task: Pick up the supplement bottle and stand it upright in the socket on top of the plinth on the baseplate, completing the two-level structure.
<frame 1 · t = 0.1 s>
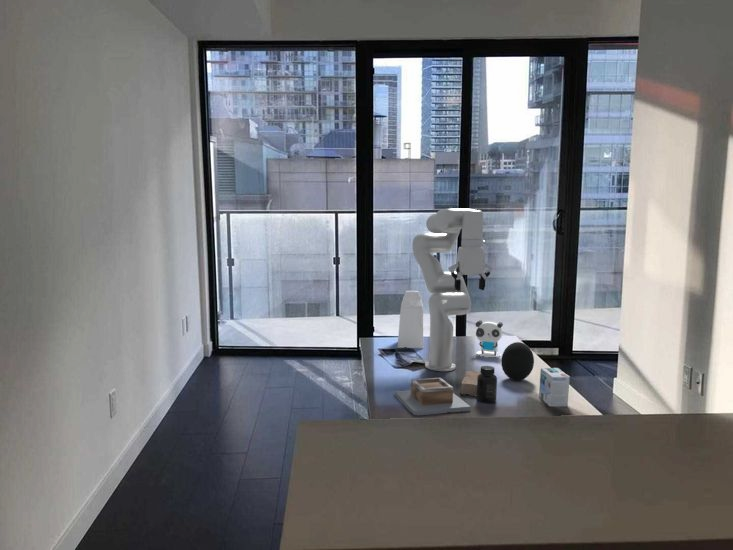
hand: (469, 289, 222), 37 cm above the table, tool pointing down, fingers open, 9 cm apart
baseplate: (431, 402, 207), on the table
supplement bottle: (486, 401, 211), on the table
brick: (474, 389, 224), on the table
light bulb box: (552, 402, 212), on the table
decorative egg: (516, 380, 236), on the table
plinth: (431, 391, 207), on the baseplate, point 4 cm above the table
milk: (410, 345, 287), on the table
panda figurine: (488, 354, 273), on the table
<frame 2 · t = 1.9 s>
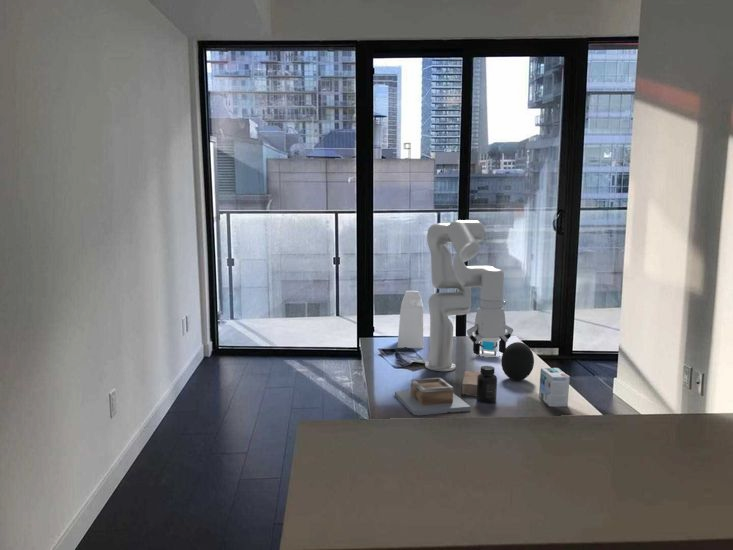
hand: (489, 353, 208), 17 cm above the table, tool pointing down, fingers open, 9 cm apart
nothing on the table moved.
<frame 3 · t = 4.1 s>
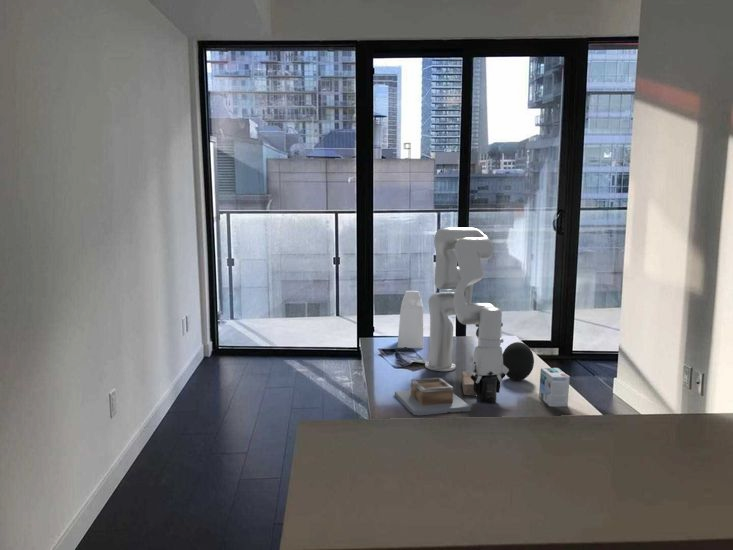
hand: (486, 391, 211), 3 cm above the table, tool pointing down, fingers closed on supplement bottle, 6 cm apart
supplement bottle: (486, 401, 211), on the table, touching gripper
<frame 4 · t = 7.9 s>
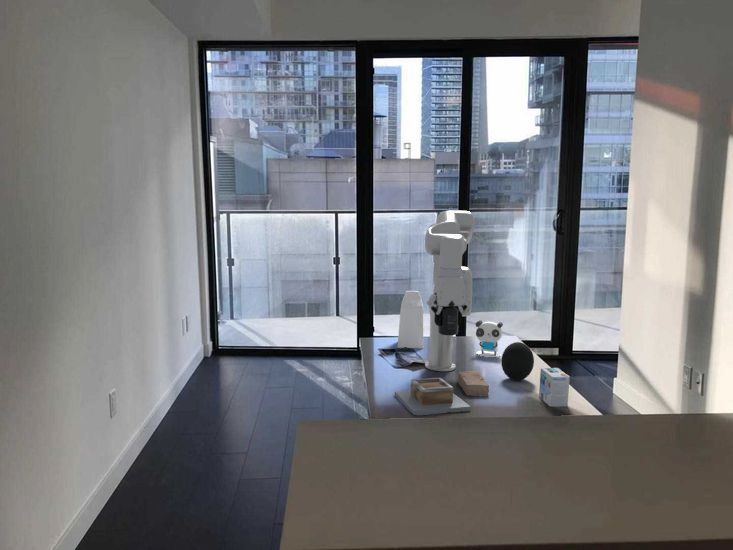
hand: (448, 324, 205), 28 cm above the table, tool pointing down, fingers closed on supplement bottle, 6 cm apart
supplement bottle: (447, 334, 205), point 24 cm above the table, touching gripper
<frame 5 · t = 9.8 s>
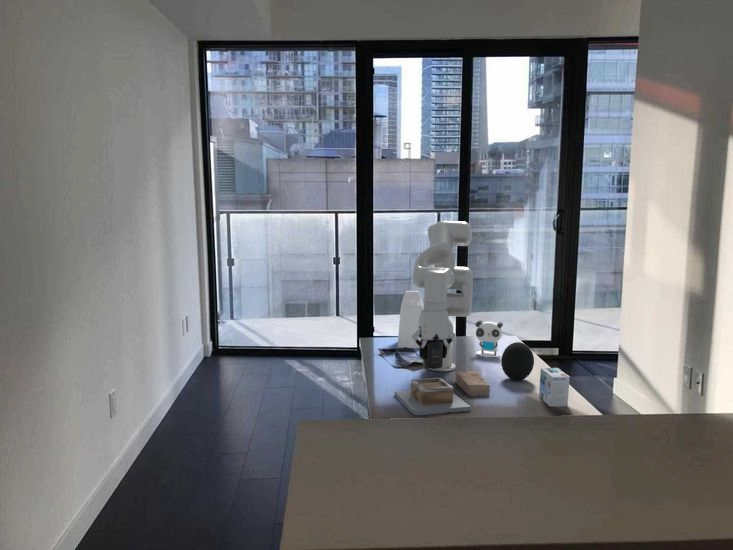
hand: (432, 357, 205), 16 cm above the table, tool pointing down, fingers closed on supplement bottle, 6 cm apart
supplement bottle: (432, 367, 206), point 13 cm above the table, touching gripper
when the fingers open (11 cm above the table, at t = 11.8 s): supplement bottle drops 2 cm, resting on plinth.
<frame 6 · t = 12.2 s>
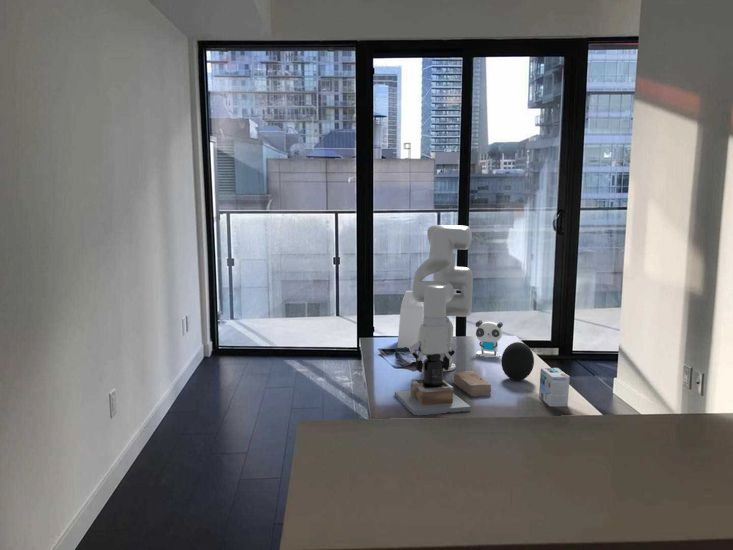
hand: (432, 370, 206), 12 cm above the table, tool pointing down, fingers open, 9 cm apart
supplement bottle: (432, 386, 207), point 6 cm above the table, touching plinth
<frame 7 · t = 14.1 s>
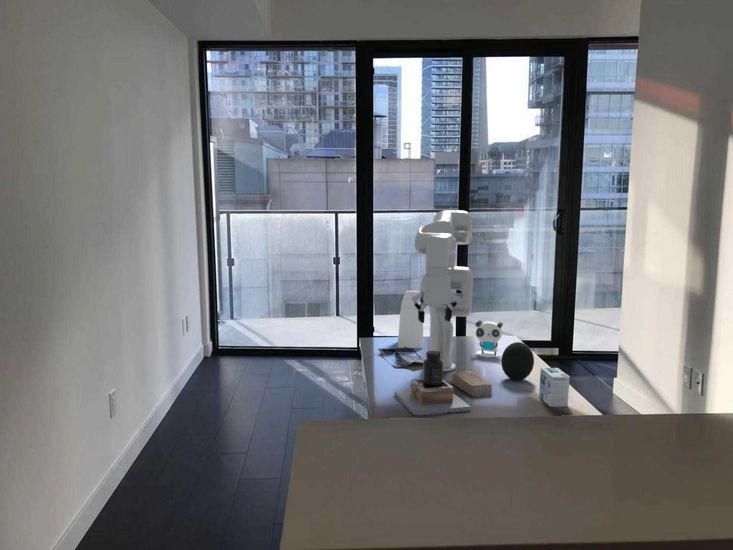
hand: (434, 321, 205), 28 cm above the table, tool pointing down, fingers open, 9 cm apart
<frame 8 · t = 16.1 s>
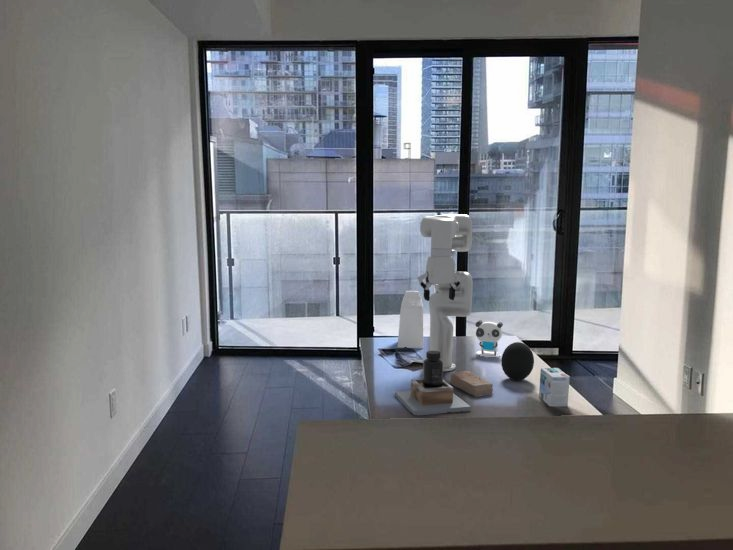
hand: (439, 299, 219), 33 cm above the table, tool pointing down, fingers open, 9 cm apart
at the end: supplement bottle 0.3 cm off-centre on the plinth, point 5.8 cm above the plinth's base; supplement bottle tilted 0°; the gripper is holding nothing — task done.
